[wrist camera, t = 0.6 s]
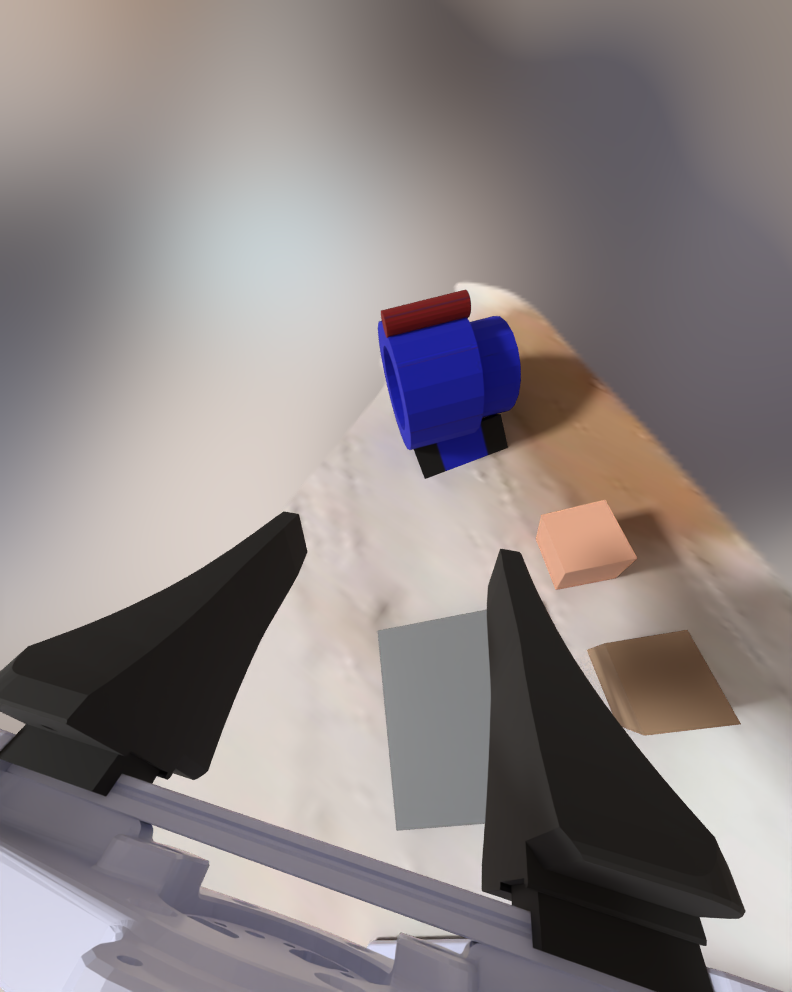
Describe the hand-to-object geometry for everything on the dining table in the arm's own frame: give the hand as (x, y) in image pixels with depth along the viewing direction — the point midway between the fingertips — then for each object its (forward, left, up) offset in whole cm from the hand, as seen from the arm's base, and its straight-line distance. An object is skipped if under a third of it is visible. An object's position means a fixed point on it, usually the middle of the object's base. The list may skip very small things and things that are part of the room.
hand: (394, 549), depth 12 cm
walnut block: (-6, -11, -18) cm, 22 cm away
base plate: (-6, 0, -18) cm, 19 cm away
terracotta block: (+3, -11, -18) cm, 21 cm away
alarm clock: (+21, -5, -19) cm, 29 cm away
